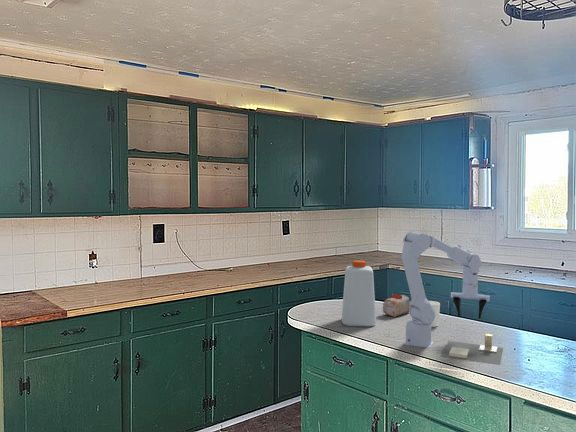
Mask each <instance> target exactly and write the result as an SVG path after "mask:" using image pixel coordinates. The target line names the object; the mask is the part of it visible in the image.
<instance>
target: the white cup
mask: <svg viewBox="0 0 576 432" xmlns="http://www.w3.org/2000/svg"><path fill="white" fill-rule="evenodd" d="M428 301H429V302H430V304H431V307H432V309H433V310H434V312H435V319H434V321H433V322H432V324H431V328H436V327H438V326H439V321H440V311H441V309H440V307H441V303H440V301H436V300H435V301H434V300H428Z"/></svg>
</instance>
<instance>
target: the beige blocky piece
mask: <svg viewBox="0 0 576 432" xmlns="http://www.w3.org/2000/svg"><path fill="white" fill-rule="evenodd" d="M479 345H480V348H479V351H483V352H491V353H497V347H498V346H493V334H490V333H485V334H484V344H479Z"/></svg>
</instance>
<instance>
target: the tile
mask: <svg viewBox="0 0 576 432" xmlns="http://www.w3.org/2000/svg"><path fill="white" fill-rule="evenodd" d="M468 354H469V349H463V348H456V347H452V348H451V350H450V352H449V356H451V357H458V358H465V359H467V357H468Z"/></svg>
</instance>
